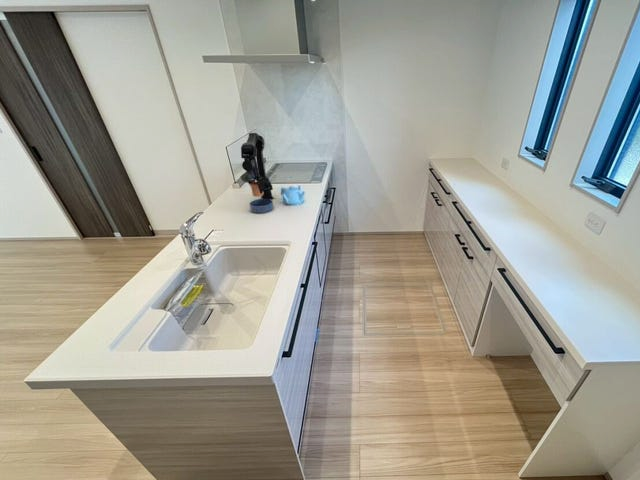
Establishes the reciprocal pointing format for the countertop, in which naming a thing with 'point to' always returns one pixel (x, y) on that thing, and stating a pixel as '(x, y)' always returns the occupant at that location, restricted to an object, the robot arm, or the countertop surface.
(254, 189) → the cup
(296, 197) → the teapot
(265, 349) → the countertop surface
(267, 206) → the bowl
